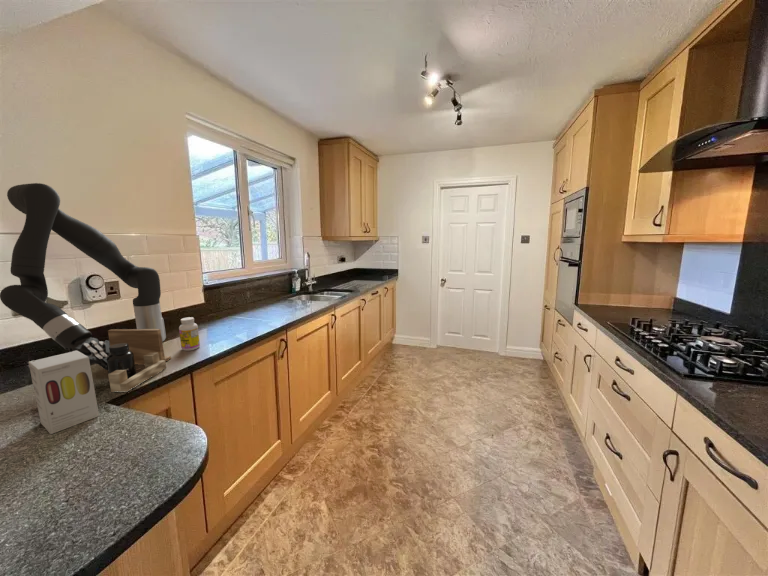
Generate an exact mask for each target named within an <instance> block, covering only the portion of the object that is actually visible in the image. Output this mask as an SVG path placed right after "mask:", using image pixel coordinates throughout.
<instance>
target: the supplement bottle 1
mask: <svg viewBox="0 0 768 576" xmlns="http://www.w3.org/2000/svg"><path fill="white" fill-rule="evenodd" d="M109 350H110V351H109V352H110V354H109V355H108V356H107V366H108V371H107V372H108V374H110V373H112V372H114V371H116V370H126V372H127V378H128V379H129V378H130V377H132V376H134V375H135V374H137V369H136V365H135V360H134V354H133V352H131V351H128V350H129V345H128V343H120V344H115V345H112V346H110V347H109Z"/></svg>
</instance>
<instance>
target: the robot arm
mask: <svg viewBox="0 0 768 576" xmlns="http://www.w3.org/2000/svg"><path fill="white" fill-rule="evenodd" d="M6 196H7V199H8V202H9V203H10V204H11V205H12V207H14V208H15V209H16V210H18V211H19V212H21V213H22V214H24V215H25V221H24V225H23V228H22V230H21V232H20V234H19V236H18V238H17V239H16V242H15V244H14V247H13V250H12V254H11V261H10V262H11V263H10V274H11V275H12V276H14V277H17V278H18V279H19V281H20V284H11V285H8V286H5V287H3V289H1V291H0V302H1V303H2V304H3V305H4V306H5V307H6V308H7V309H9V310H11V311H12V312H14V313H16V314H18V315H20V316H22V317H24V318H26V319H29V320H30V321H32V322H33V323H34V324H35V325H37V326H38V327H39V328H41V330H43V331H44V332H45V334H47V335H48V337H50V338H51V339H52V340H53V341H55V343H57V344H58V345H59V346H60V347H62V348H63V349H64V350H66V351H69V352H72V351H76V350H77V351H79V352H81V353H82V354H84V355H86V356H88V357H89V361H90V366H92V365H93V364H95V365H98V366H99V367H101V368H102V369H103V370H105V371H107V372H108V366H107V357H108V355H110V354H111V353H110V352H109V351H110V350H109V347H110V341H109V339H108V340H107V339H106V340H105V341H102V340H101V341H100V340H99V339H98V338H95V337H93V334H92V332H91V331H90V330H89V329H87V328H86V327H85V326H84V325H82V324H81V323H80V322H79V321H78V320H76V319H75V318H74V317H72V316H71V315H70V314H68V313H66V311H64V310H63V309H62V308H61V307H59V306H58V305H56V304H53V303H49V302H46V301H47V299H48V294H49V290H48V285H47V281H46V280H47V279H46V275H45V266H46V259H47V258H46V257H47V248H48V244H49V240H50V236H51V232H52V231H53V232H54V233H55V234H57V235H58V236H60V237H61V238H62V239H64V240H65V241H66V242H67V243H70V244H71V245H72V246H74V247H75V248H76V249H77V250H79V251H81V252H82V253H84V255H86V256H88V257H89V258H90V259H93V260H94V261H96V263H99V264H100V265H101V266H103V267H104V268H106V269H108V270H109V271H111V272H112V273H113V274H114V275H116V277H117V278H119V280H121V281H122V282H123V283H125V284H126V285H128V287H131V288H134V289H137V292H138V293H137V296H136V297H135V298H133V299H132V306H133V313H134V318H135V319H134V320H135V324H136V329H161V336H162V342H164V341H165V340H166V338H167V335H166V328H165V321H164V317H163V316H162V309H161V302H160V298H161V294H162V293H161V292H162V291H161V279H160V276H159V273H158V271H157V270H156V269H155V268H152V267H145V266H144V267H143V266H137V265H136V264H134V263H132V262H130V261H129V259H128V260H127V258H125V257H124V255H122V253H121V251H120V249H119V248H118V246H117V245H116V243H115V242H114V241H113V240H112V239H111V238H109V237H108V236H106V234H103V232H101V231H100V230H99V229H97V228H96V227H93V226H91V225H89V224H87V223H85V222H84V221H81V220H78V219H76V218H75V217H73V216H71V215H69V214H67V213H66V212H64V211H63V210H61V209H60V205H61V198H60V195H59V192H58V191H56V189H55V188H53V187H52V186H50V185H48V184H45V183H40V182H39V183H38V182H35V183H34V182H33V183H23V184H17V185H13V186H11V187H9V188H8V190H7V193H6Z"/></svg>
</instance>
